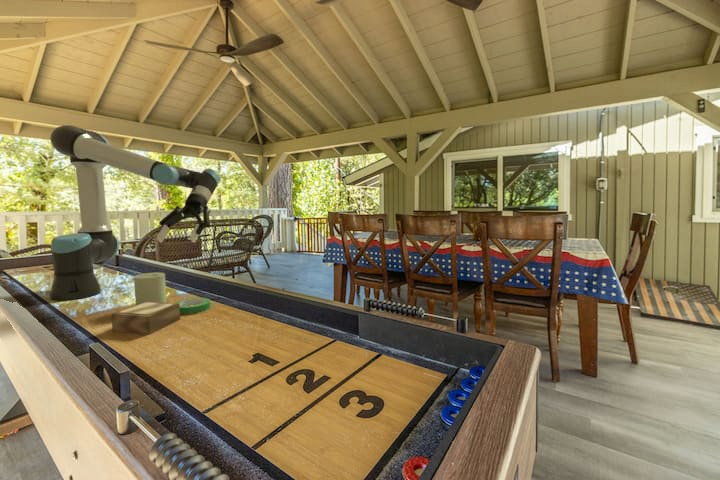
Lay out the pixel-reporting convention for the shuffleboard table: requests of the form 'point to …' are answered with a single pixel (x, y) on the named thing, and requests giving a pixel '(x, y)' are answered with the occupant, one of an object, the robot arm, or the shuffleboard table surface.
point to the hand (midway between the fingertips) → (175, 240)
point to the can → (150, 288)
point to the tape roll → (198, 305)
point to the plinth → (145, 317)
